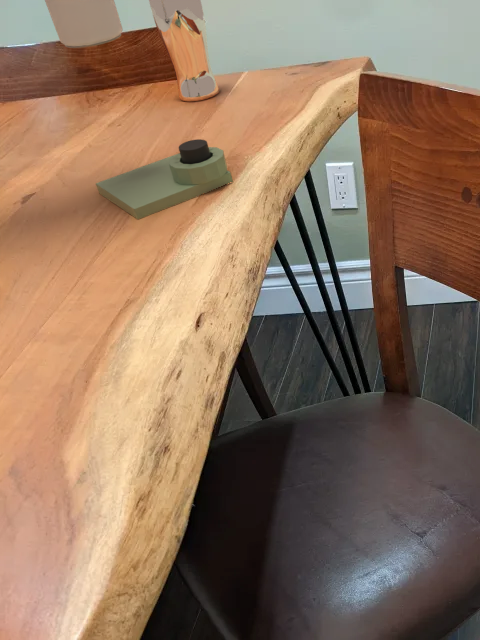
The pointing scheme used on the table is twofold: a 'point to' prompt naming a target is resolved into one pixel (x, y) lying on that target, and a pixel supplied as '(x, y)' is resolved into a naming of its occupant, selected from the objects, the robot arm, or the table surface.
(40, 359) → the table surface
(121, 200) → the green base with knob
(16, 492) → the table surface
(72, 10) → the can
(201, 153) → the button
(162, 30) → the beer glass
